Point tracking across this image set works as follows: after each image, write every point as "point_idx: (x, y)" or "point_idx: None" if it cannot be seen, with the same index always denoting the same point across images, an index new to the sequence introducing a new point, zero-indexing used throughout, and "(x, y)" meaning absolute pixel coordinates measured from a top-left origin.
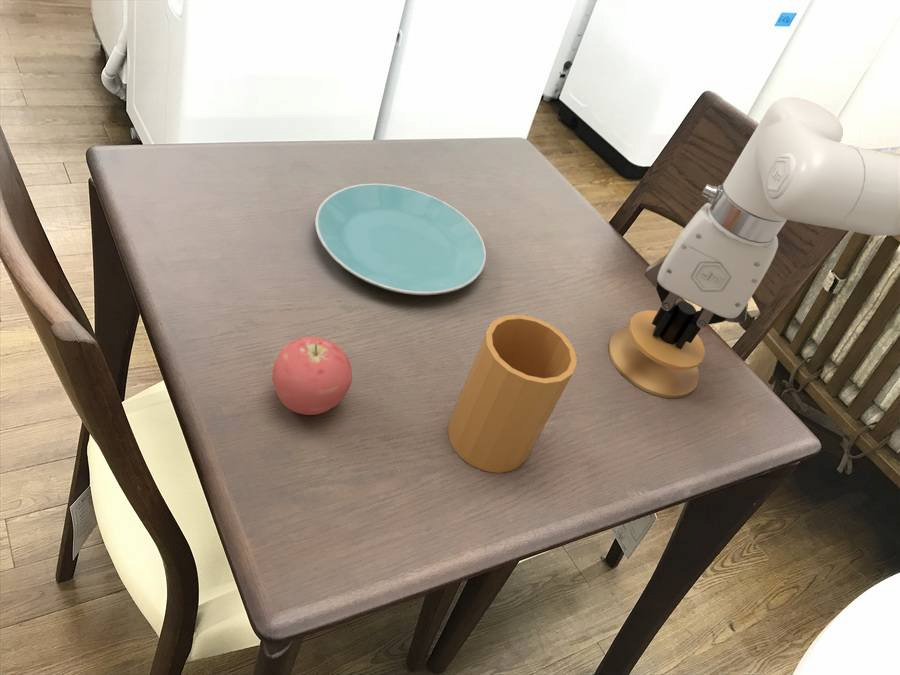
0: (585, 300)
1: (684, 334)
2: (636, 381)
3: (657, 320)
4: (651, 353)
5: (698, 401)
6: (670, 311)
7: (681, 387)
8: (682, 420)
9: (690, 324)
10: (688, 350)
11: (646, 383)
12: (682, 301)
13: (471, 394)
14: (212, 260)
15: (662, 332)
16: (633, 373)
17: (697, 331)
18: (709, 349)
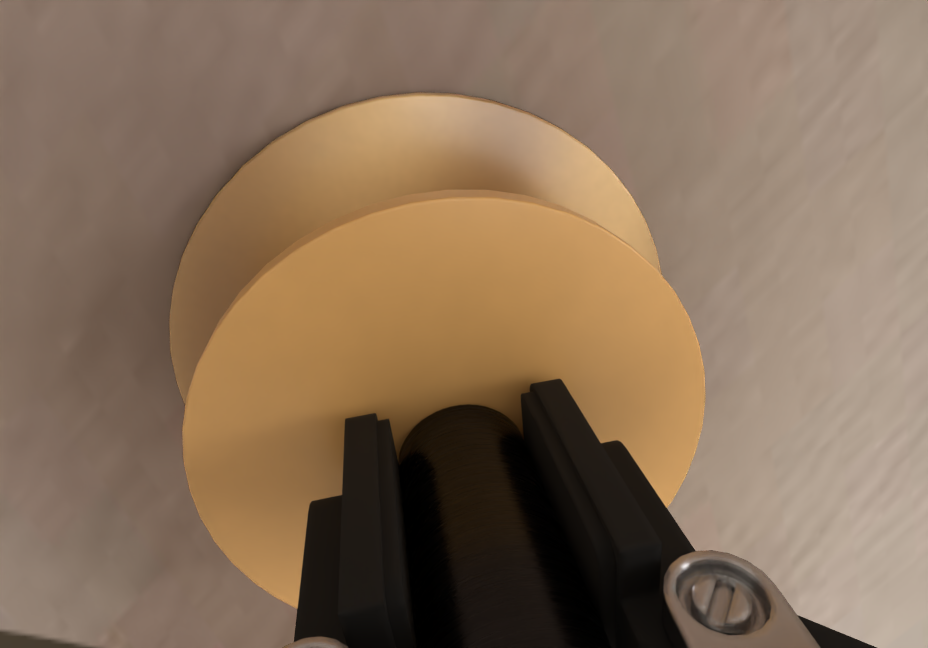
0: (798, 442)
1: (387, 500)
2: (452, 104)
3: (619, 471)
4: (504, 211)
5: (109, 282)
6: (631, 583)
7: (227, 283)
8: (83, 37)
9: (398, 602)
10: (302, 465)
11: (398, 139)
12: None
13: None
14: None
15: (517, 442)
16: (489, 156)
17: (308, 599)
18: (260, 619)
